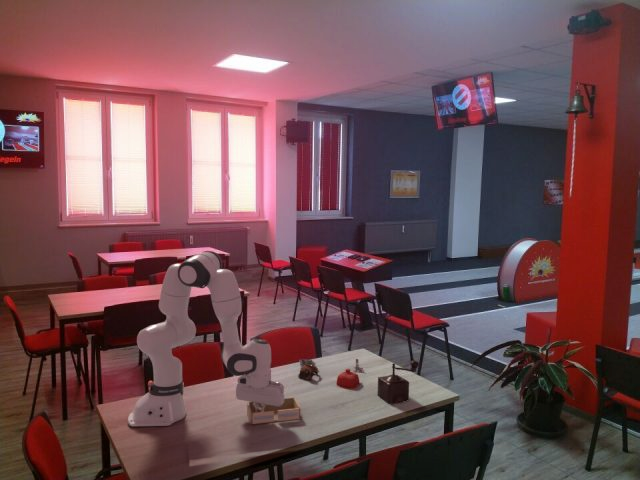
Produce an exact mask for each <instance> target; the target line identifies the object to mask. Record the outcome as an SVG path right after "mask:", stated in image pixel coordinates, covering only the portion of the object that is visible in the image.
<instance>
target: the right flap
mask: <svg viewBox="0 0 640 480" xmlns="http://www.w3.org/2000/svg"><path fill="white" fill-rule="evenodd" d="M301 411H302V409H301V407H300V408H296V409H286V410H278V422H285V421H284V420H288V421H294V419H297V420H300V419H301V417H302V416H301V415H302V414H301V413H302V412H301Z"/></svg>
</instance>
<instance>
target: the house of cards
mask: <svg viewBox="0 0 640 480" xmlns="http://www.w3.org/2000/svg"><path fill="white" fill-rule="evenodd" d="M363 371H364V367H361V366H359V359H358V358H355V366H354V368H353V372H354V373H360V372H363Z"/></svg>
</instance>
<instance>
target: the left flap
mask: <svg viewBox="0 0 640 480" xmlns="http://www.w3.org/2000/svg"><path fill="white" fill-rule="evenodd" d="M266 422H269V423H275V422H274V411H267V412H257V413H250V422H249V425H250V424H251V425H258V424H257V423H260V424H267V423H266Z"/></svg>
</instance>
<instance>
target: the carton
mask: <svg viewBox="0 0 640 480" xmlns="http://www.w3.org/2000/svg"><path fill="white" fill-rule="evenodd" d="M258 406H259V407H260V408H262V406H261V403H258ZM296 408H301V406H300V404H299V403H298V401H297V399H296V397H295V396H294V397H284V403H283V404H282V405H281V406H280V407H278V406H272V405H266V407H265V408H264V412H267V411H274V422H273V423H276V422H279V421H278V410H286V409H296ZM250 413H256V409H255V407H254V405H253V402H250V401H246V415H247V418H248V422H249V425H252V424H250ZM294 420H296V421H297V420H298V419H294ZM294 420H293V421H294ZM286 421H289V420H284V421H283V422H286ZM267 423H268V424H269V423H270V422H266V423H265V424H267ZM260 424H261V423H257V424H256V425H260Z"/></svg>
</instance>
